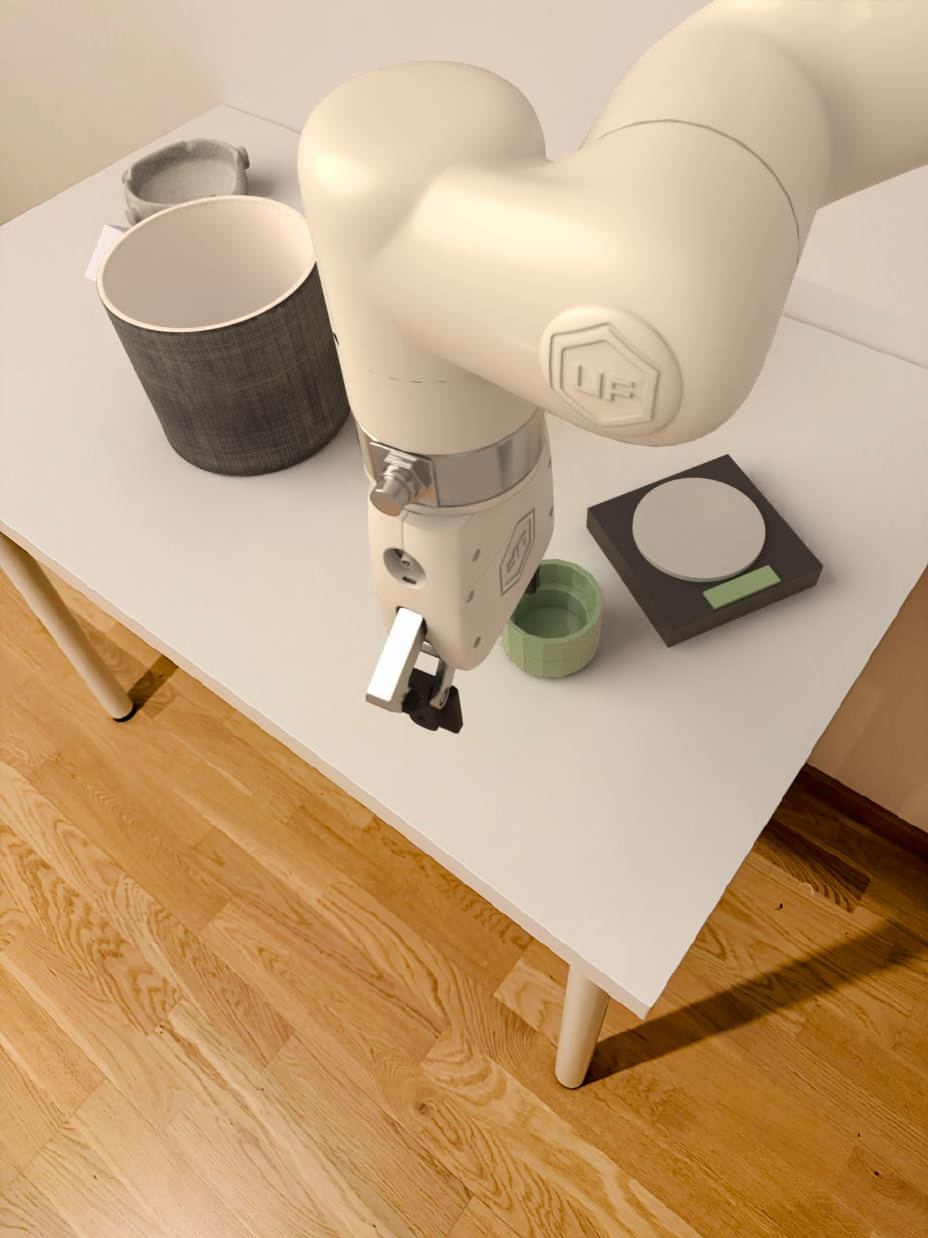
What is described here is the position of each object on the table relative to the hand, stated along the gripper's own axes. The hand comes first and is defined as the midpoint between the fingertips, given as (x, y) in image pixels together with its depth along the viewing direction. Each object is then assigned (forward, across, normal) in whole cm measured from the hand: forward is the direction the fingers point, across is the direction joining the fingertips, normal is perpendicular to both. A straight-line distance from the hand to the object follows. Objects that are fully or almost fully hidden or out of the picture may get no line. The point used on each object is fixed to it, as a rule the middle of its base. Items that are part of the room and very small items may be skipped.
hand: (475, 648), depth 50 cm
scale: (+16, +23, -7) cm, 29 cm away
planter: (+16, +24, +35) cm, 46 cm away
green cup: (+16, +11, 0) cm, 19 cm away
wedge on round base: (+16, +34, +53) cm, 65 cm away
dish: (+16, +48, +61) cm, 79 cm away
